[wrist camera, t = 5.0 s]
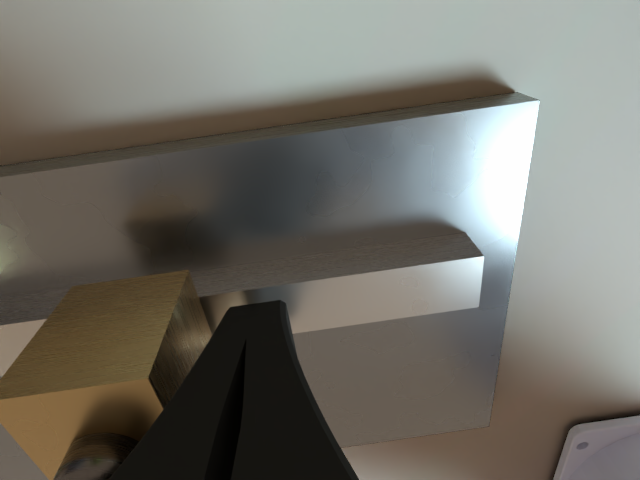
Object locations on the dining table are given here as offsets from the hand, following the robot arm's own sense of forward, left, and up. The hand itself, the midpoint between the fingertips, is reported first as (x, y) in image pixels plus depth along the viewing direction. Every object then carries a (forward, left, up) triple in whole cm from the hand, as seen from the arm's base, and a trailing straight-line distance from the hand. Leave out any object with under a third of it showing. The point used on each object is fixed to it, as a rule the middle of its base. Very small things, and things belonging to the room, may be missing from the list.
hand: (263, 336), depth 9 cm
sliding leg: (-2, +3, -2) cm, 3 cm away
